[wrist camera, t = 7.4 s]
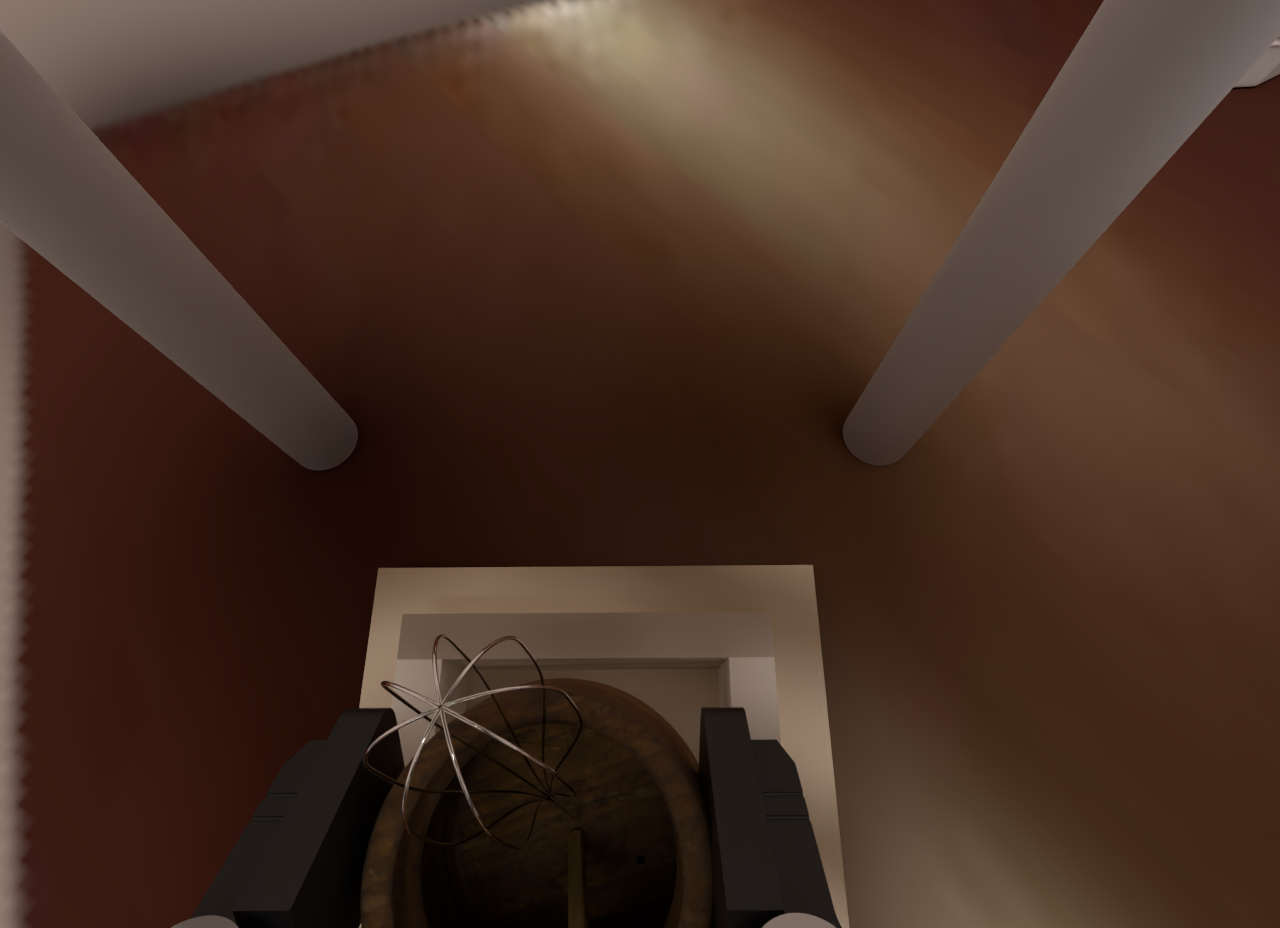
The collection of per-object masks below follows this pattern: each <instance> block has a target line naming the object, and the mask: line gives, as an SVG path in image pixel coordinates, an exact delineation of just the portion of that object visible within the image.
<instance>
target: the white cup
mask: <svg viewBox="0 0 1280 928" xmlns="http://www.w3.org/2000/svg"><path fill="white" fill-rule="evenodd" d="M1279 74H1280V36H1279V37H1278V38H1277V39H1276V40H1275V41H1274V42H1273V43H1272V45H1271V46H1270V47H1269V48H1268V49H1267V50H1266V51H1265V52H1264V54H1263V55H1262V56H1261V57H1260V58H1259V59H1258V60H1257V61H1256V62H1255V64H1254V65H1253V66H1252V67H1251V68H1250V69H1249V70H1248V71H1247V73H1246V74H1245V75H1244V76H1243V77H1242V78H1241V79H1240V80H1239V81H1238V83H1237V84H1236V85H1235V86H1234V87H1253V86H1257V85H1259V84H1261V83H1263V82H1265V81H1267V80H1269V79H1271V78H1273V77H1275V76H1277V75H1279Z"/></svg>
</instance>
